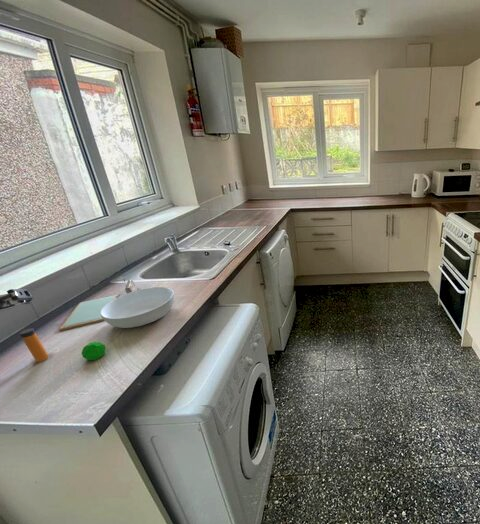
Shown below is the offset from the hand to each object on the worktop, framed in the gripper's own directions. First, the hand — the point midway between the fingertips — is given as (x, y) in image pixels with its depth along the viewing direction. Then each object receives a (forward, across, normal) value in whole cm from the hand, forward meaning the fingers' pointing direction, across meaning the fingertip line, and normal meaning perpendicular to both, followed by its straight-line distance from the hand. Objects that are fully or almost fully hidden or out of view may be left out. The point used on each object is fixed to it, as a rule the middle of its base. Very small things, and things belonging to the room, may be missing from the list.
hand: (7, 308), depth 72 cm
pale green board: (+34, -4, +5) cm, 35 cm away
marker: (+11, +4, +15) cm, 19 cm away
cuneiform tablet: (+42, -16, +4) cm, 45 cm away
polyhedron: (+4, -8, +21) cm, 23 cm away
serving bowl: (+20, -20, +16) cm, 33 cm away
